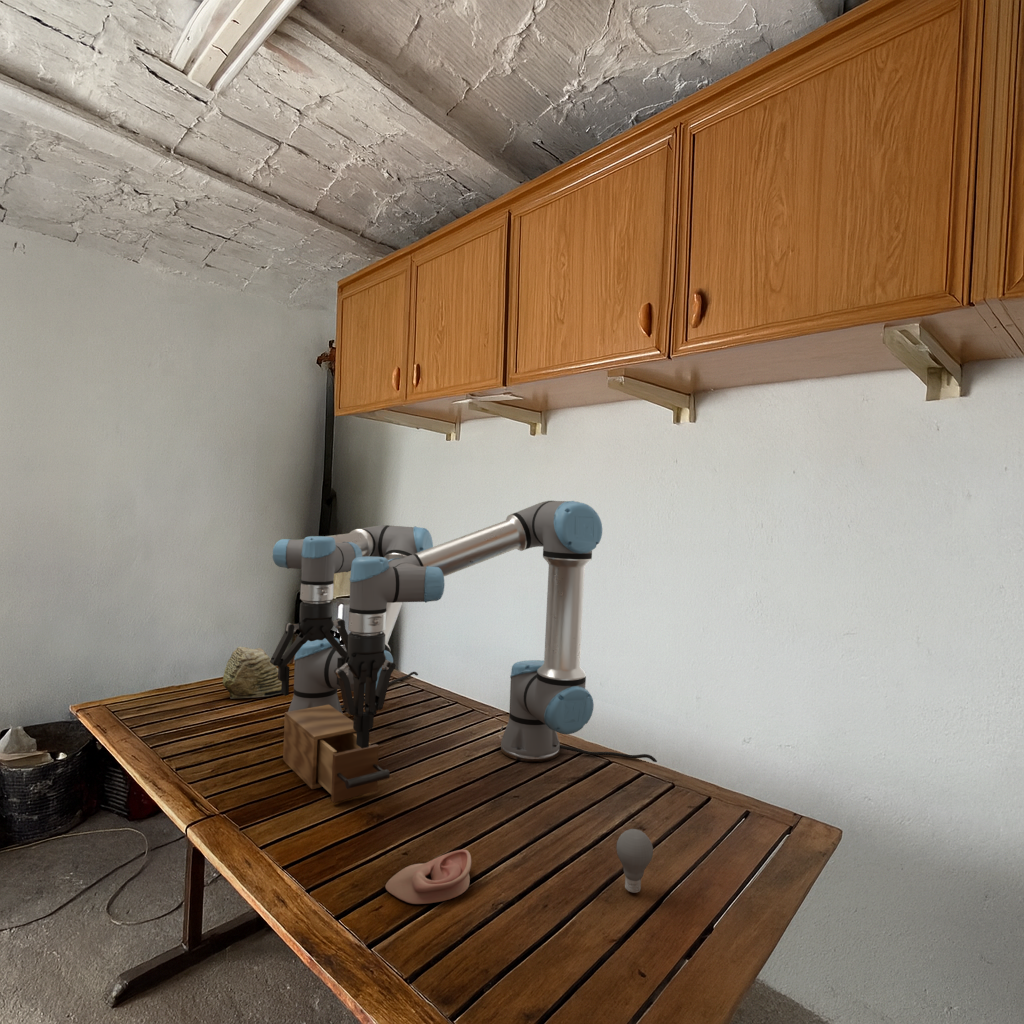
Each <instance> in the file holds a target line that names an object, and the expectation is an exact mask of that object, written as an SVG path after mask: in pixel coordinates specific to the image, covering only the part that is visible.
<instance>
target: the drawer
mask: <svg viewBox="0 0 1024 1024" xmlns="http://www.w3.org/2000/svg"><path fill="white" fill-rule="evenodd" d="M356 740H357V734H356V733H355V732H351V733H346V734H342V735H337V736H332V737H327V738H323V739H318V740H317V764H316V781H317V782H318V783H319V784H320V785H321V786H322V787H323V789H324V790H325V791H327V793H328V794H330V796H331V797H330V801H331V802H332V803H338V802H341V801H344V800H348V799H351V798H355V797H358V796H362V795H367V794H370V793H372V792H377V791H378V782H379V781H383V780H387V779H390V777H391V776H390V775H391V774H390V770H389V769H388V768H385V769H383V768H382V767H381V766H379V753H380V752H379V750H380V745H379V744H377V743H374V744H371V743H370V742H369V747H367V748H361V747H359V746H358V745H357V744H356ZM322 787H321V788H322Z"/></svg>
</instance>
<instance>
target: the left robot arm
mask: <svg viewBox="0 0 1024 1024" xmlns="http://www.w3.org/2000/svg"><path fill="white" fill-rule="evenodd" d="M432 547H434V543H433V538H432V535H431V532H430V531H429V530H428V529H427V528H425V527H419V526H403V525H402V526H401V525H389V524H380V525H373V526H367V527H362V528H356V529H353V530H351V531H350V532H349V533H341V534H340V533H339V534H334V535H325V536H324V535H318V536H317V535H310V536H306V537H304V538H301V539H293V538H282V539H279V540H278V541H277V542H275V544H274V546H273V548H272V560H273V562H274V564H275V565H276V566H277V567H279V568H284V569H287V570H290V569H292V570H293V569H295V570H301V580H300V593H299V594H300V595H299V600H301V602H300V603H299V621H298V623H291V622H286V623H285V626H284V632H283V634H282V636H281V637H280V640H279V642H278V644H277V646H276V648H275V650H274V651H273V653H272V656H271V657H270V658H271V659H270V663H272V664H273V665H274V666H276V667H277V668H278V679H279V680H280V681H282V686H281V693H280V694H282V695H284V696H285V697H286V696H289V694H290V691H289V690H290V670H291V669H290V666H289V665H288V664H290V662H291V661H292V660H294V672H293V695H292V696H293V697H292V699H291V702H290V704H289V708H288V711H287V712H289V711H295V710H301V709H306V708H312V707H318V706H324V705H330V706H332V707H333V708H335V709H336V710H338V711H339V712H341V713H342V714H343V715H344V713H343V709H344V704H341V702H340V699H339V695H338V690H339V691H341V689H340V684H339V679H338V677H337V676H336V674H335V673H334V670H335V668H340V667H342V666H343V665H344V664H345V660H346V658H347V656H348V634H349V632H348V631H347V629H346V620H345V619H342V618H340V617H338V618H336V619H334V620H333V613H334V612H333V610H334V603H333V602H332V600H333V599H334V589H335V587H334V585H335V583H334V582H335V581H334V579H335V574H340V573H349V572H351V566H352V561H353V560H354V559H355V558H357V557H364V556H372V557H384V558H387V559H388V560H390V559H395V558H399V559H402V558H404V557H407V556H410V555H413V554H415V553H418V552H421V551H424V550H426V549H429V548H432ZM403 603H404V602H395V603H387V607H386V608H387V610H386V629H385V630H384V631H383V632H384V633H385V649H384V654H385V656H386V660H388V661H390V662H393V663H394V657H393V655H392V653H391V647H390V645H389V641H390V638H391V635H392V633H393V630H394V628H395V625H396V621H397V620H398V616H399V615H400V614H399V613H400V611H401V608H402V606H403ZM333 628H335V629H336V630H337V632H338V635H339V637H340V639H341V641H342V644H343V645H341V643H340V642H341V641H340V639H339V638H337V637H335V636H334V634H332V633H331V630H332V629H333ZM297 630H298V631H299V634H298V635H297V636H296V637H295V640H294V641H293V642H292V644H291V645H290V646H289V644H290V642H291V640H292V639H293V636H294V634H295V633H296V632H297ZM288 646H289V647H288ZM287 648H288V649H287ZM293 658H294V659H293ZM381 669H382V667H381V668H380V670H379V671H378V673H377V681H376V688H377V684H378V680H379V676H380V672H381ZM348 672H349V675H348V676H347V677H348V679H349V682H350V687H351V692H352V693H354V680H353V674H352V672H351V671H350V670H348ZM413 675H415V676H419V673H418V672H416V671H412V672H411V671H410V673H408V674H406V675H404V676H401V677H398V678H396V679H393V680H390V681H389V684H388V687H389V686H391V685H392V684H394V683H397V682H400V681H402V680H405V679H409V678H410V677H411V676H413ZM364 694H365V686H364ZM364 702H365V697H364Z"/></svg>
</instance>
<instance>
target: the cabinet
mask: <svg viewBox="0 0 1024 1024" xmlns="http://www.w3.org/2000/svg"><path fill="white" fill-rule="evenodd" d="M353 721H354V720H353V719H351V718H349V717H348V716H346V715H345V714H344V713H343V714H342V713H341V712H339V711H338V710H336V709H335V708H333V707H332V706H330V705H324V706H318V707H312V708H306V709H301V710H295V711H289V712H288V711H285V712H284V722H283V723H284V725H283V746H282V747H283V748H282V750H283V751H282V752H283V753H282V761H283V762H284V763H285V764H286V765H287V766H288V767H289V768H290V769H291V770H292V771H293V772H294V773H295V775H297V776H298V777H299V778H300V779H301V780H302V781H303V782H304V783H305V784H306V785H307V786H308V787H309V788H310V789H311V790H316V789H320V788H322V786H321V785H320V784H319V783H318V782H317V781H316V764H317V740H318V739H323V738H327V737H332V736H337V735H342V734H346V733H351V732H355V733H356V734H357V732H356V731H355V730H354V728H353Z"/></svg>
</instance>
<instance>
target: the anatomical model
mask: <svg viewBox="0 0 1024 1024" xmlns="http://www.w3.org/2000/svg"><path fill="white" fill-rule="evenodd" d="M471 868H472V856H471V853H470V852H469V850H467V849H457V850H454V851H451V852H450V851H449V852H447V853H445V854H442V855H440V856H437V857H436V858H434V859H431V860H429V861H427V862H424V863H414V864H411V865H408V866H406V867H404V868H402V869H400V870H399V871H398V872H396V873H395V874H394V875H393V876H391V877H390V879H388V880H387V882H386V884H385V890H386V891H387V892H388V893H389V894H390V895H392V896H393V897H395V898H397V899H399V900H401V901H403V902H405V903H407V904H410V905H411V904H412V905H426V904H433V903H439V902H444V901H447V900H451V899H454V898H456V897H459V896H460V895H462V894H463V893H465V892H466V891H467V890H468V889H469V887H470V883H471V881H470V880H471V878H470V871H471Z"/></svg>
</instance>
